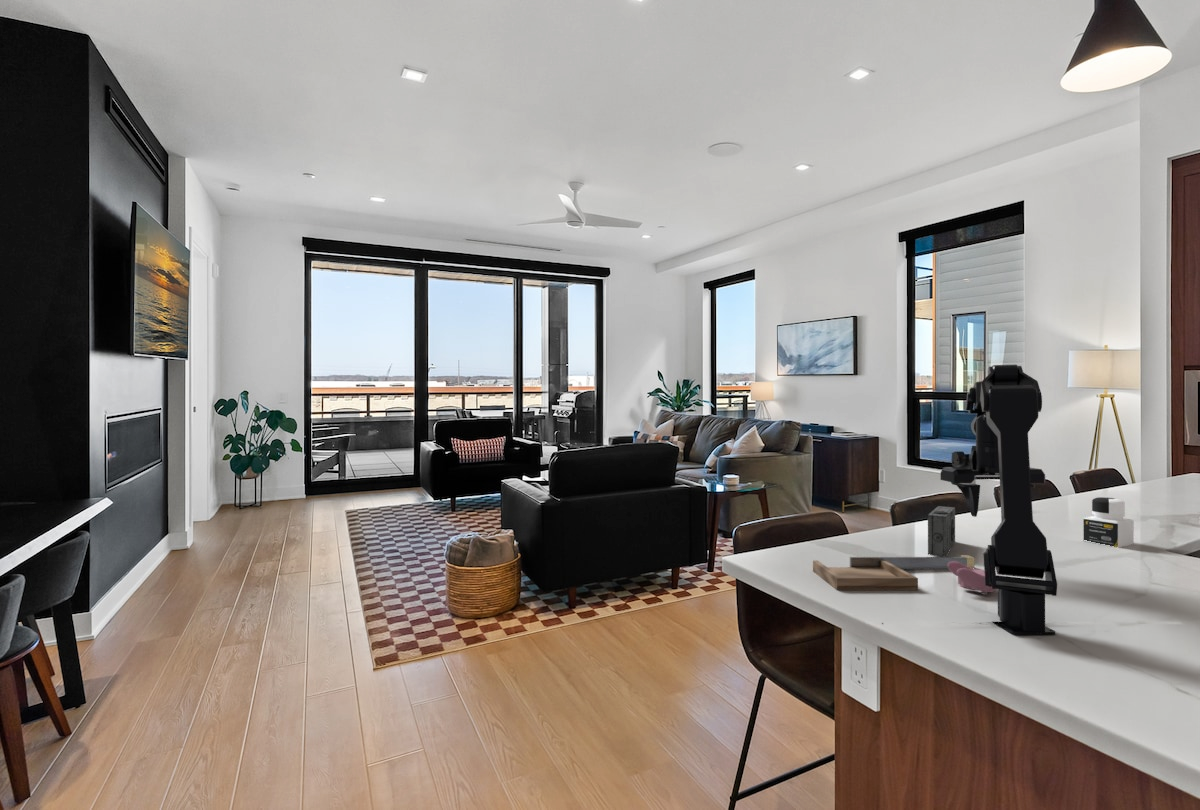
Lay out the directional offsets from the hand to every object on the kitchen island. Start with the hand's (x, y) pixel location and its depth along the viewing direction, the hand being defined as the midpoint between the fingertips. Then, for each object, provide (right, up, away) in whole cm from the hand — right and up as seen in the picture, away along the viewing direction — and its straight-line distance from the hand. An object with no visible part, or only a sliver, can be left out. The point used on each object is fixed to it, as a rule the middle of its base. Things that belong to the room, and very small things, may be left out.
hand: (991, 516), depth 128 cm
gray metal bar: (-17, -11, 0) cm, 20 cm away
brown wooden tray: (-30, -11, -7) cm, 33 cm away
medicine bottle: (+40, -11, +19) cm, 46 cm away
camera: (-2, -11, +14) cm, 19 cm away
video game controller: (-16, -9, -12) cm, 22 cm away
